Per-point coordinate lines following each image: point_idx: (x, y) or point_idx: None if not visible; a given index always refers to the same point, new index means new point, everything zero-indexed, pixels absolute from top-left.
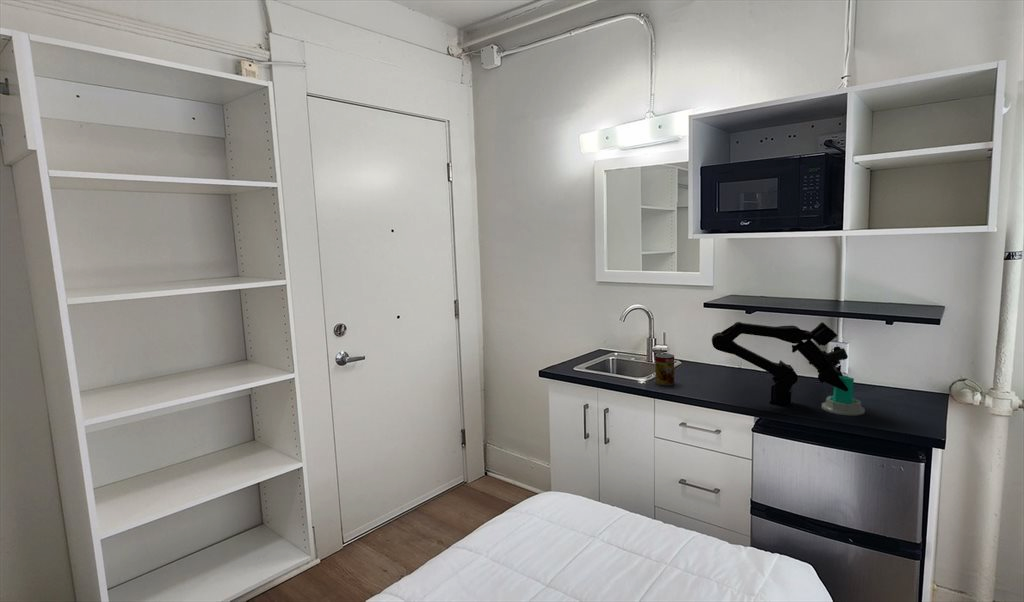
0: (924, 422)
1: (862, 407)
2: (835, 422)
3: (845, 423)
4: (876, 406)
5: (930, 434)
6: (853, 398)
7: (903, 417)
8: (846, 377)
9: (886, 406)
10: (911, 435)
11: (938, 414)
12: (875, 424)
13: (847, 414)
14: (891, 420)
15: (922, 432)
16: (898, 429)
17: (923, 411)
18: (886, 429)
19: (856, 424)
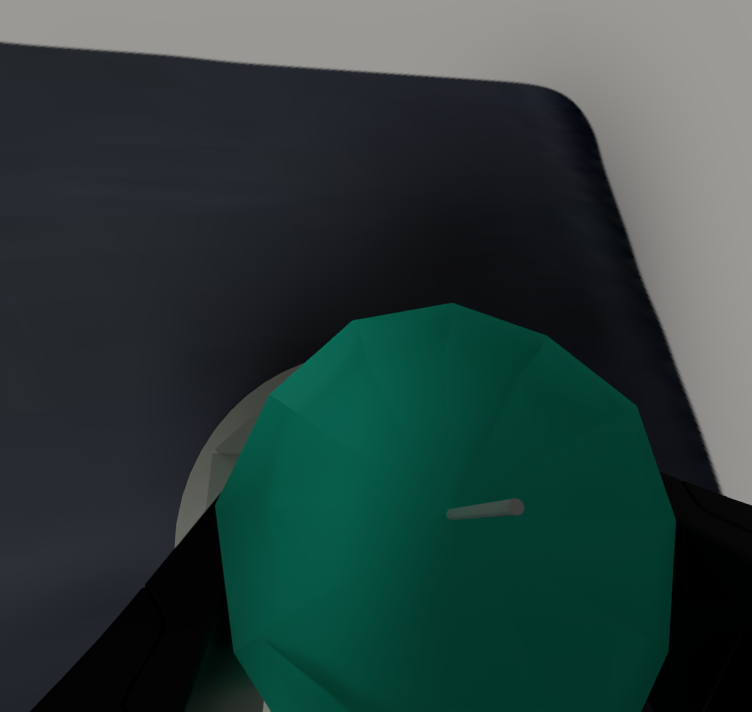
0: (338, 106)
1: (283, 379)
2: (713, 484)
3: (678, 424)
4: (102, 318)
5: (517, 99)
6: (242, 441)
7: (305, 177)
8: (267, 492)
9: (65, 263)
10: (593, 152)
11: (128, 52)
12: (555, 283)
13: None
14: (413, 223)
15: (513, 119)
16: (549, 193)
17: (96, 99)
18: (595, 234)
19: (641, 367)
